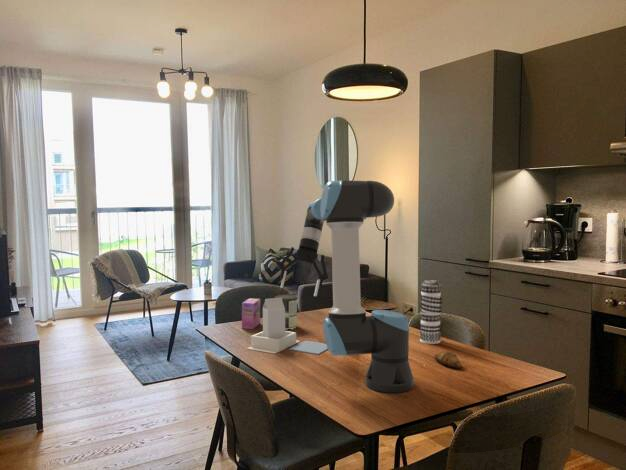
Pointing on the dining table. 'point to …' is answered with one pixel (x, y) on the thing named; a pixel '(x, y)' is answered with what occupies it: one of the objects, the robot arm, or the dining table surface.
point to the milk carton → (273, 318)
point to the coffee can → (289, 310)
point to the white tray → (272, 342)
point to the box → (250, 313)
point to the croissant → (448, 359)
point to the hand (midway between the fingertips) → (298, 291)
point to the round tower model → (430, 312)
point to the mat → (310, 347)
